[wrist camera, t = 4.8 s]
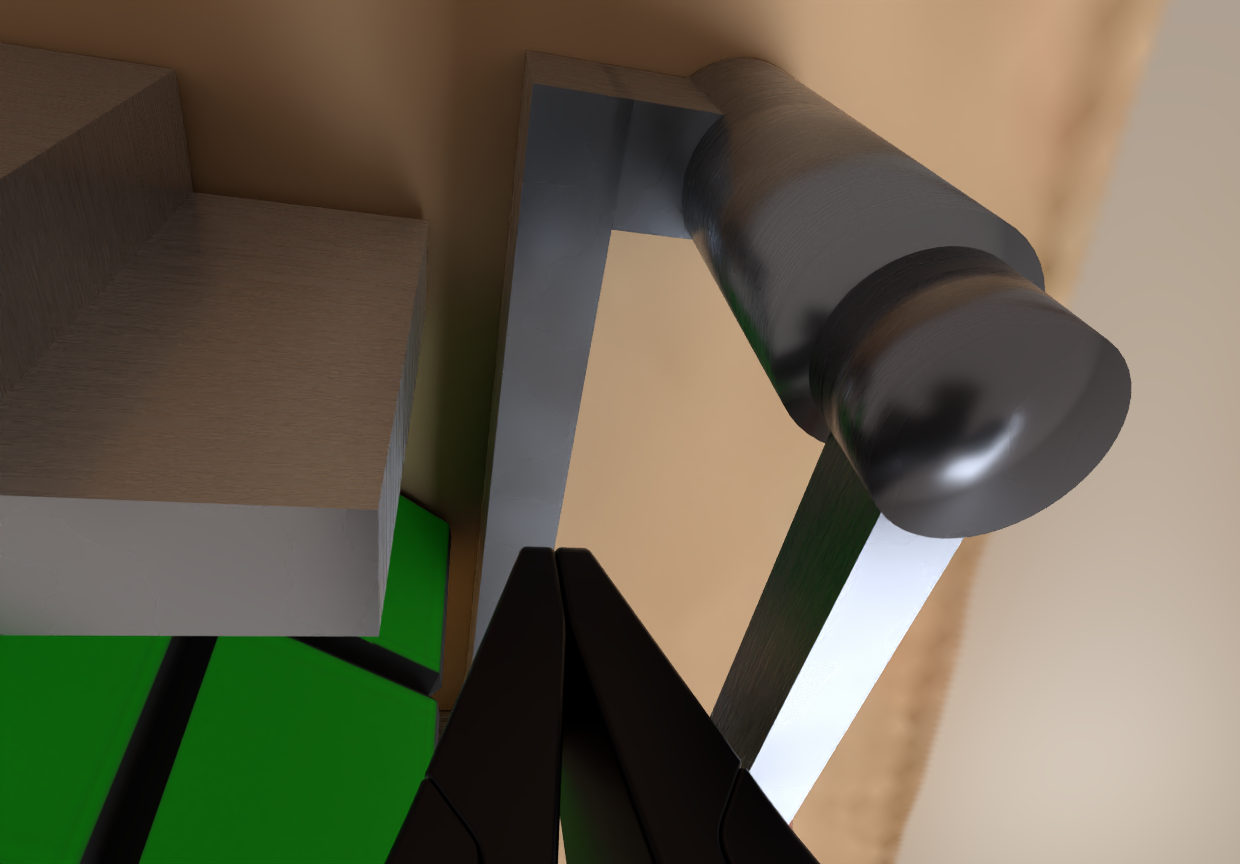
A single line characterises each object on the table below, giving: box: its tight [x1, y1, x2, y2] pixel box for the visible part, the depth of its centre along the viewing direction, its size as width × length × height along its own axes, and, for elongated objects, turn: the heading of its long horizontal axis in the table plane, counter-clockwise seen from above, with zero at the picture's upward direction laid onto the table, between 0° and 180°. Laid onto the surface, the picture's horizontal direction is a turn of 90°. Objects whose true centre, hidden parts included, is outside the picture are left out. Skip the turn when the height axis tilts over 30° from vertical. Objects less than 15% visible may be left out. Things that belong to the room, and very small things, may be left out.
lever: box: [710, 246, 1131, 829], centre depth 10 cm, size 11×2×2 cm, turn 169°
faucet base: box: [438, 50, 1045, 742], centre depth 14 cm, size 22×22×8 cm
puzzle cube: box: [0, 494, 451, 864], centre depth 14 cm, size 10×10×10 cm
